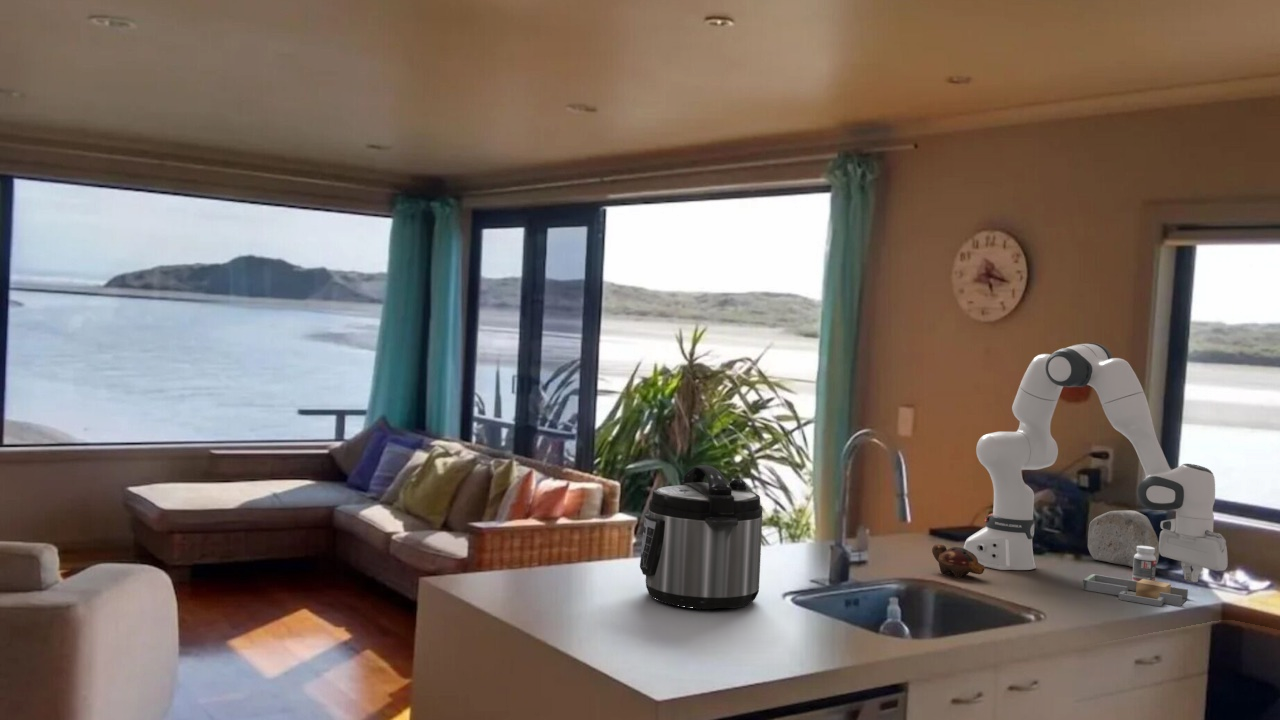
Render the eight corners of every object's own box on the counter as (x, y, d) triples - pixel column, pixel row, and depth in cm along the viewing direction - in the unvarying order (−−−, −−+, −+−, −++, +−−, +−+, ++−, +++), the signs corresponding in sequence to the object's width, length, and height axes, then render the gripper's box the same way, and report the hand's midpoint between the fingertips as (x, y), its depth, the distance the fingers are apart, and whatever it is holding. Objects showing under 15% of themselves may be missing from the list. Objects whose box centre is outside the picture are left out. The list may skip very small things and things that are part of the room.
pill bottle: (1156, 585, 314) (1159, 550, 313) (1134, 583, 315) (1137, 548, 314) (1151, 581, 319) (1154, 546, 319) (1130, 579, 320) (1132, 544, 320)
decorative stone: (1162, 569, 339) (1148, 573, 332) (1097, 555, 353) (1083, 559, 346) (1167, 513, 338) (1153, 516, 331) (1101, 502, 352) (1087, 505, 345)
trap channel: (1078, 592, 300) (1078, 583, 299) (1091, 582, 313) (1092, 573, 313) (1177, 609, 286) (1178, 599, 286) (1187, 598, 299) (1188, 589, 299)
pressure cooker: (665, 578, 289) (672, 454, 288) (772, 594, 279) (780, 465, 278) (619, 603, 261) (627, 466, 260) (737, 621, 251) (746, 479, 250)
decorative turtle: (934, 568, 321) (938, 540, 321) (987, 581, 313) (992, 552, 312) (922, 571, 313) (927, 542, 313) (976, 584, 305) (981, 555, 304)
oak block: (1135, 597, 299) (1136, 582, 299) (1141, 593, 303) (1142, 578, 303) (1164, 602, 294) (1165, 587, 294) (1169, 598, 299) (1170, 583, 299)
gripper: (1235, 534, 284) (1232, 589, 284) (1175, 521, 304) (1172, 572, 304) (1215, 534, 282) (1211, 590, 283) (1155, 521, 302) (1152, 572, 302)
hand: (1190, 580), depth 293 cm, fingers closed
